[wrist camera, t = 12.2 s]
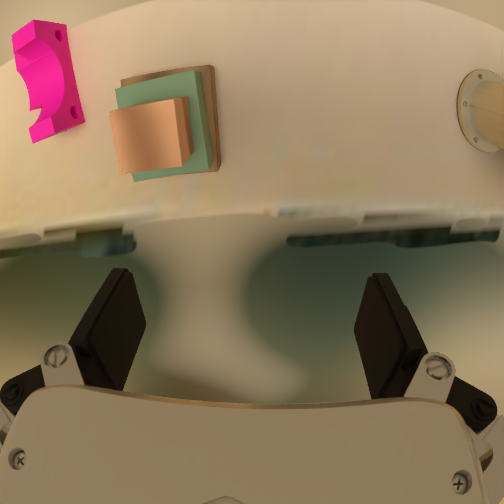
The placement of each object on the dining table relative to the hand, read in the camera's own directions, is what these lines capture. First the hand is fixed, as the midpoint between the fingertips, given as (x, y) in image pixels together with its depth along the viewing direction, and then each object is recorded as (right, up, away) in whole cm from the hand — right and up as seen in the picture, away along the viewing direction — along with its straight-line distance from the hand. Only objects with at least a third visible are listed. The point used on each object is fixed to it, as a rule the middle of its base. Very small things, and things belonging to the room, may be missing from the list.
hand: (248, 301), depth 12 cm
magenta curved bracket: (-26, +25, +17) cm, 40 cm away
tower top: (-9, +16, +18) cm, 26 cm away
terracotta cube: (-8, +14, +15) cm, 22 cm away
